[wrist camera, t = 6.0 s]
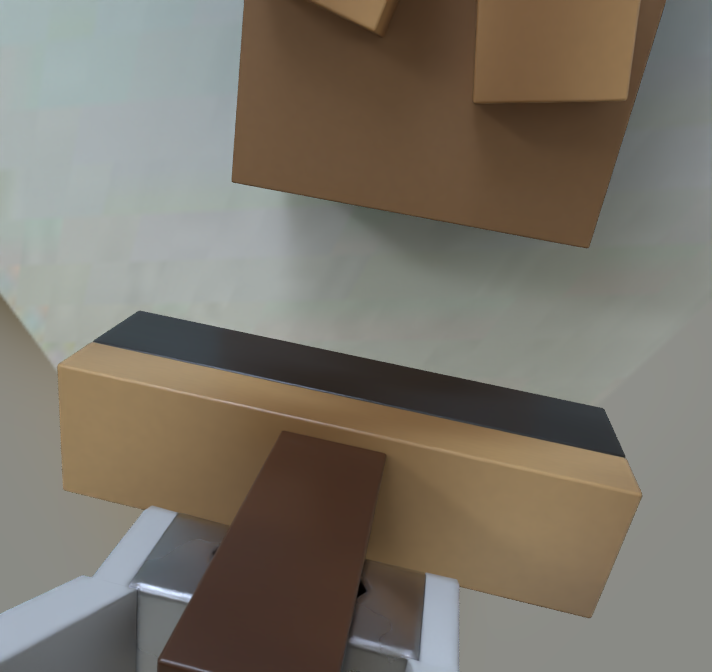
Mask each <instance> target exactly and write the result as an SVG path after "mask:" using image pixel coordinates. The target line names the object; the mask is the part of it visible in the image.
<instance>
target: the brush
mask: <svg viewBox="0 0 712 672" xmlns="http://www.w3.org/2000/svg"><path fill="white" fill-rule="evenodd" d="M57 370H58V391H59V412H60V431H61V432H60V433H61V454H62V476H63V489H64V490H65V491H69V492H72V493H76V494H81V495H85V496H89V497H93V498H98V499H101V500H106V501H109V502H113V503H118V504H122V505H126V506H130V507H134V508H138V509H142V510H145V509H147V508H149V507H150V506H156V507H160V508H163V509H167V510H170V511H174V512H178V513H184V514H188V515H192V516H196V517H199V518H203V519H207V520H210V521H214V522H218V523H222V524H225V525H229V526H230V527H229V529H228V531H227V532H226V534H225V536H224V538H223V540H222V542H221V543H220V545H219V547H218V549H217V551H216V553H215V554H214V556H213V558H212V560H211V562H210V564H209V566H208V567H207V569H206V571H205V573H204V575H203V577H202V578H201V580H200V582H199V584H198V586H197V588H196V589H195V591H194V593H193V595H192V597H191V599H190V601H189V602H188V604H187V606H186V608H185V610H184V612H183V613H182V615H181V617H180V619H179V621H178V623H177V625H176V626H175V628H174V630H173V632H172V634H171V636H170V637H169V639H168V641H167V643H166V645H165V647H164V648H163V650H162V652H161V654H160V656H159V658H158V660H157V672H341V670H342V665H343V660H344V655H345V650H346V645H347V641H348V636H349V631H350V626H351V622H352V617H353V612H354V608H355V603H356V599H357V594H358V589H359V584H360V579H361V575H362V570H363V565H364V561H365V559H369V560H373V561H378V562H382V563H386V564H390V565H395V566H399V567H403V568H407V569H412V570H416V571H420V572H424V573H431V574H435V575H440V576H444V577H449V578H453V579H457V581H458V583H459V587H463V588H467V589H471V590H476V591H479V592H483V593H487V594H491V595H496V596H500V597H504V598H508V599H512V600H516V601H520V602H525V603H528V604H533V605H537V606H541V607H545V608H549V609H554V610H557V611H561V612H566V613H570V614H574V615H578V616H582V617H586V618H591V617H592V615H593V613H594V610H595V608H596V606H597V603H598V601H599V598H600V596H601V594H602V591H603V589H604V587H605V584H606V582H607V579H608V577H609V575H610V572H611V570H612V567H613V565H614V563H615V560H616V558H617V555H618V553H619V551H620V548H621V546H622V544H623V541H624V539H625V536H626V533H627V532H628V529H629V527H630V524H631V522H632V520H633V517H634V515H635V512H636V510H637V508H638V505H639V503H640V500H641V498H642V492H641V490H640V488H639V486H638V484H637V481H636V479H635V477H634V475H633V473H632V470H631V468H630V466H629V463H628V461H627V459H625V454H624V452H623V450H622V448H621V446H620V443H619V441H618V439H617V437H616V434H615V432H614V430H613V428H612V425H611V423H610V421H609V419H608V417H607V414H606V412H605V410H604V409H603V408H599V407H595V406H590V405H585V404H580V403H576V402H571V401H566V400H561V399H557V398H552V397H547V396H542V395H538V394H533V393H528V392H523V391H519V390H514V389H509V388H504V387H500V386H495V385H490V384H485V383H481V382H476V381H471V380H466V379H462V378H457V377H452V376H447V375H443V374H438V373H433V372H429V371H424V370H419V369H414V368H410V367H405V366H400V365H395V364H391V363H386V362H381V361H376V360H372V359H367V358H362V357H357V356H353V355H348V354H343V353H338V352H334V351H329V350H324V349H319V348H315V347H310V346H305V345H300V344H296V343H291V342H286V341H281V340H277V339H272V338H267V337H262V336H258V335H253V334H248V333H243V332H239V331H234V330H229V329H225V328H220V327H215V326H210V325H206V324H201V323H196V322H191V321H187V320H182V319H177V318H172V317H168V316H163V315H158V314H153V313H149V312H144V311H138V312H136V313H135V314H133V315H131V316H130V317H128V318H127V319H125V320H124V321H122V322H121V323H119V324H118V325H116V326H115V327H113V328H112V329H110V330H109V331H107V332H106V333H104V334H103V335H101V336H100V337H98V338H97V339H95V340H94V341H93V342H92V343H89V344H88V345H86V346H85V347H83V348H82V349H80V350H79V351H77V352H76V353H74V354H73V355H71V356H70V357H68V358H67V359H65V360H64V361H62V362H61V363H59V364H58V366H57Z"/></svg>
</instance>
